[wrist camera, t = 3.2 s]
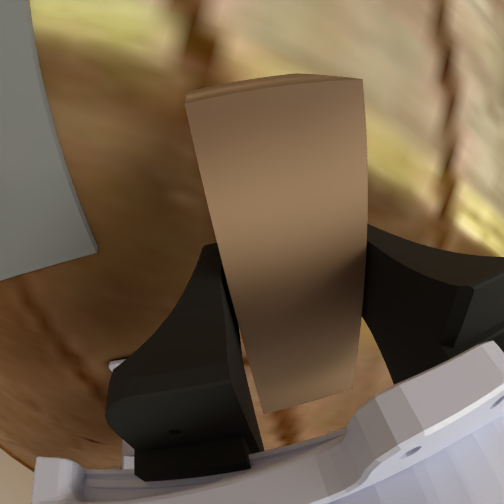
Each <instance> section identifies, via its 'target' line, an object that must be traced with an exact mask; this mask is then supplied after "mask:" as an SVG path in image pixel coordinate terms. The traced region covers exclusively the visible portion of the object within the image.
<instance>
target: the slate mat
mask: <svg viewBox="0 0 504 504" xmlns="http://www.w3.org/2000/svg"><path fill="white" fill-rule="evenodd" d="M97 250H98V246H97V244H96V241H95V239H94V237H93V234H92V232H91V229H90V227H89V225H88V222H87V220H86V217H85V215H84V212H83V209H82V207H81V204H80V202H79V199H78V196H77V194H76V191H75V188H74V185H73V183H72V180H71V177H70V174H69V171H68V168H67V165H66V162H65V159H64V156H63V153H62V150H61V147H60V143H59V140H58V137H57V133H56V130H55V126H54V123H53V119H52V116H51V112H50V108H49V104H48V100H47V96H46V92H45V88H44V84H43V79H42V75H41V70H40V65H39V60H38V55H37V50H36V44H35V38H34V32H33V25H32V18H31V10H30V1H29V0H0V281H1V280H4V279H7V278H11V277H14V276H17V275H21V274H24V273H27V272H31V271H34V270H38V269H41V268H45V267H48V266H52V265H55V264H59V263H62V262H66V261H69V260H73V259H77V258H80V257H84V256H87V255H91V254H95V253H97Z"/></svg>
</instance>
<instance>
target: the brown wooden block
mask: <svg viewBox="0 0 504 504" xmlns="http://www.w3.org/2000/svg"><path fill="white" fill-rule="evenodd" d="M185 108H186V112H187V117H188V121H189V126H190V130H191V135H192V139H193V144H194V148H195V152H196V157H197V161H198V165H199V170H200V174H201V178H202V183H203V187H204V191H205V195H206V199H207V203H208V208H209V212H210V216H211V220H212V224H213V228H214V232H215V236H216V240H217V244H218V248H219V252H220V256H221V260H222V264H223V268H224V272H225V275H226V279H227V283H228V287H229V291H230V295H231V298H232V302H233V306H234V310H235V313H236V317H237V321H238V325H239V328H240V332H241V336H242V339H243V343H244V346H245V350H246V354H247V357H248V361H249V364H250V368H251V371H252V375H253V378H254V382H255V385H256V389H257V392H258V396H259V399H260V403H261V406H262V410H263V413H264V414H266V413H270V412H274V411H278V410H282V409H286V408H290V407H293V406H297V405H301V404H304V403H308V402H311V401H314V400H318V399H321V398H324V397H328V396H331V395H334V394H337V393H340V392H343V391H346V390H349V389H352V387H353V381H354V374H355V367H356V360H357V352H358V344H359V336H360V326H361V317H362V306H363V295H364V281H365V266H366V246H367V213H368V171H367V138H366V119H365V104H364V91H363V80H362V79H356V78H348V77H338V76H327V75H314V74H287V75H279V76H271V77H264V78H257V79H250V80H244V81H238V82H232V83H227V84H221V85H216V86H211V87H207V88H202V89H197V90H193V91H188V92H187V95H186V100H185Z"/></svg>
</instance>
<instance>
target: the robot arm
mask: <svg viewBox="0 0 504 504" xmlns="http://www.w3.org/2000/svg"><path fill="white" fill-rule="evenodd" d="M362 317H363V319H364V320H365V322H366V324H367V325H368V327H369V329H370V330H371V332H372V334H373V337H374V339H375V341H376V343H377V345H378V347H379V349H380V351H381V354H382V356H383V358H384V361H385V363H386V365H387V368H388V370H389V373H390V375H391V378H392V380H393V383H394V385H393V386H391V387H389V388H387V389H385V390H384V391H382V392H380V393H378V394H376V395H374V396H373V397H372V398H370V399H369V400H368V401H367V402H365V403H364V404H363V405H362V406H360V407H359V408H358V409H357V410H356V412H355V413H354V415H353V416H352V418H351V419H350V421H349V423H348V425H347V427H346V428H344V429H341V430H338V431H335V432H332V433H329V434H326V435H323V436H319V437H316V438H313V439H309V440H306V441H302V442H299V443H295V444H291V445H288V446H284V447H280V448H276V449H271V450H267V451H264V447H263V443H262V439H261V436H260V432H259V428H258V424H257V420H256V416H255V412H254V408H253V404H252V399H251V395H250V391H249V387H248V383H247V378H246V374H245V370H244V365H243V359H242V351H241V342H240V334H239V325H238V321H237V317H236V313H235V310H234V306H233V302H232V298H231V295H230V291H229V287H228V283H227V279H226V275H225V272H224V268H223V264H222V260H221V256H220V252H219V248H218V244H217V243H213V244H209V245H205V246H204V247H203V248H202V250H201V254H200V257H199V260H198V262H197V265H196V268H195V270H194V272H193V274H192V277H191V279H190V281H189V283H188V285H187V287H186V289H185V291H184V292H183V294H182V296H181V298H180V300H179V301H178V303H177V304H176V306H175V307H174V309H173V310H172V312H171V313H170V315H169V316H168V317H167V319H166V320H165V321H164V322H163V323H162V325H161V326H160V327H159V328H158V329H157V331H156V332H155V333H154V334H153V335H152V336H151V337H150V338H149V339H148V340H147V341H146V342H145V343H144V344H143V345H142V346H141V347H140V348H139V349H138V350H137V351H135V352H134V353H133V354H132V355H131V356H129V357H128V358H127V359H122V360H116V361H111V362H110V363H109V369H110V370H111V371H112V376H111V379H110V383H109V389H108V396H107V404H106V414H105V416H106V420H107V423H108V424H109V426H110V427H111V428H112V429H113V430H114V431H115V432H116V433H117V434H118V435H119V436H120V437H121V438H122V439H123V442H122V462H121V467H120V468H119V467H116V466H111V468H110V469H108V470H98V469H84V468H83V467H82V466H80V465H79V464H78V463H76V462H75V461H73V460H70V459H67V458H58V457H43V456H38V457H36V464H35V471H34V479H33V488H32V498H31V504H504V257H488V256H476V255H468V254H461V253H455V252H450V251H445V250H440V249H436V248H432V247H428V246H425V245H422V244H418V243H415V242H412V241H409V240H406V239H403V238H401V237H398V236H395V235H393V234H390V233H388V232H385V231H383V230H381V229H378V228H376V227H374V226H371V225H369V224H367V246H366V266H365V281H364V295H363V306H362Z"/></svg>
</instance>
